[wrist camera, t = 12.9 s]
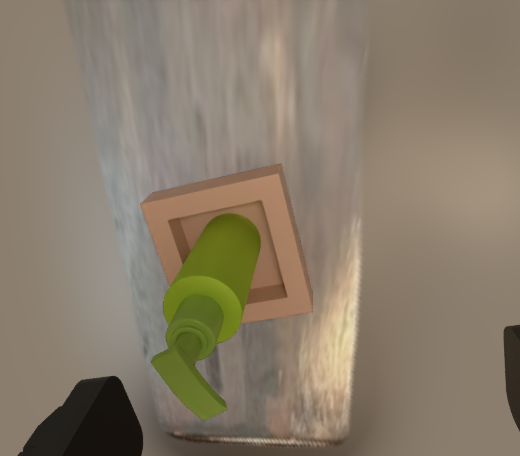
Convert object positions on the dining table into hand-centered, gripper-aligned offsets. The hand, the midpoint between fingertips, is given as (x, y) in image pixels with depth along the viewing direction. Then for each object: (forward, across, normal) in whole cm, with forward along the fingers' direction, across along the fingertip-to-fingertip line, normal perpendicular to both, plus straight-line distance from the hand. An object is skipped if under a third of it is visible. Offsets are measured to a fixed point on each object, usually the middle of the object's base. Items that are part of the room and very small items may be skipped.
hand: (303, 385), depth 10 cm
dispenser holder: (+34, +10, +11) cm, 37 cm away
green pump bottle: (+34, +10, +11) cm, 36 cm away
